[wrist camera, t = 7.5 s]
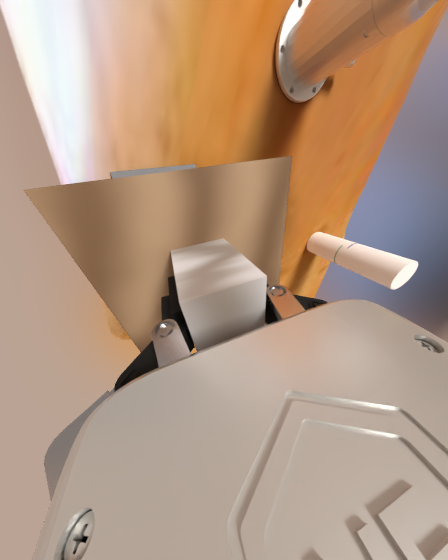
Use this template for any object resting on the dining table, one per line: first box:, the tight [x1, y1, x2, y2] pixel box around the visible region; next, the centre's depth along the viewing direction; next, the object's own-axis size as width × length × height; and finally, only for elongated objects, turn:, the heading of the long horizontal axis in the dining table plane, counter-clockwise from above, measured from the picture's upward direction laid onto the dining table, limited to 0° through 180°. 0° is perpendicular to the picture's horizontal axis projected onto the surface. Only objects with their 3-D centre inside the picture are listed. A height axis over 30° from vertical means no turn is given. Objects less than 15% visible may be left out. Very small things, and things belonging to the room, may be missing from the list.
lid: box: [24, 156, 292, 352], centre depth 11 cm, size 15×15×7 cm
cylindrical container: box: [307, 232, 418, 289], centre depth 45 cm, size 7×7×25 cm
